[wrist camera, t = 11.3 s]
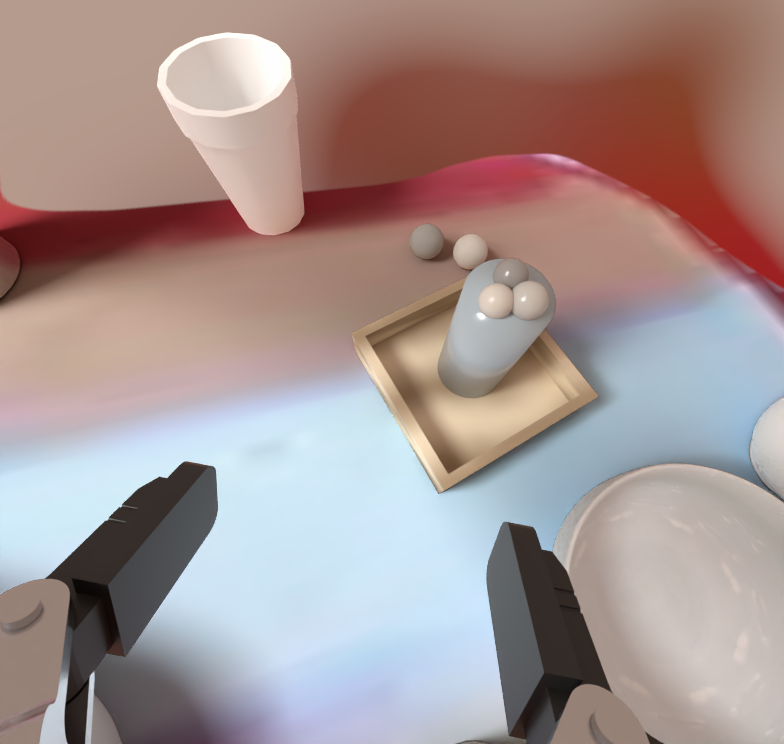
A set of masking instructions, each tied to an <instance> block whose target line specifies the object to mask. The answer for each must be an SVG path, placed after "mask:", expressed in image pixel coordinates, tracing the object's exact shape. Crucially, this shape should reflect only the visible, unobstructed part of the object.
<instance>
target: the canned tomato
mask: <svg viewBox="0 0 784 744" xmlns="http://www.w3.org/2000/svg"><path fill="white" fill-rule="evenodd" d="M460 744H488V743H483V742H478V741H474V742H463V743H460Z"/></svg>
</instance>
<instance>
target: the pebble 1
mask: <svg viewBox="0 0 784 744" xmlns="http://www.w3.org/2000/svg"><path fill="white" fill-rule="evenodd" d="M443 243H444V239H443V234H442V232H441V231H440V229H439V228H438V227H436V226H435V225H432V224H422V225H420V226H418V227H417V228H416V229H415V230H414V231H413V233H412V235H411V238H410V246H411V249H412V251H413V253H414V254H415V255H416V256H418V257H419V258H422V259H431V258H433V257H435V256H437V255H438V254H439V253H440V251H441V250H442V247H443Z"/></svg>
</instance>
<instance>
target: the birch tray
mask: <svg viewBox="0 0 784 744" xmlns="http://www.w3.org/2000/svg"><path fill="white" fill-rule="evenodd" d="M466 279H467V277H466V278H464V279H461V280H459V281H457V282H455V283H453V284H451V285H449V286H447V287H445V288H443V289H441V290H439V291H437V292H435V293H433V294H430V295H428V296H426V297H424V298H422V299H420V300H418V301H416V302H414V303H412V304H410V305H408V306H406V307H404V308H402V309H399V310H397V311H395V312H393V313H391V314H389V315H387V316H385V317H383V318H381V319H379V320H377V321H375V322H373V323H371V324H368V325H366V326H364V327H362V328H360V329H358V330H356V331H354V332H352V338H353V344H354V350H355V351H356V353H357V355H358V356H359V358H360V360H361V362H362V363H363V365H364V367H365V368H366V370H367V372H368V374H369V375H370V377H371V379H372V380H373V382H374V384H375V386H376V387H377V389H378V391H379V392H380V394H381V396H382V398H383V399H384V401H385V403H386V404H387V406H388V408H389V410H390V411H391V413H392V415H393V416H394V418H395V420H396V422H397V423H398V425H399V427H400V428H401V430H402V432H403V434H404V435H405V437H406V439H407V440H408V442H409V444H410V446H411V447H412V449H413V451H414V453H415V454H416V456H417V458H418V459H419V461H420V463H421V465H422V466H423V468H424V470H425V471H426V473H427V475H428V477H429V478H430V480H431V482H432V483H433V485H434V487H435V489H436V490H437V492H438V494H439V493H441V492H443V491H445V490H446V489H448V488H450V487H451V486H453V485H455V484H456V483H458V482H459V481H461V480H463V479H464V478H466V477H468V476H469V475H471V474H473V473H474V472H476V471H477V470H479V469H481V468H482V467H484V466H486V465H487V464H489V463H491V462H492V461H494V460H495V459H497V458H499V457H500V456H502V455H504V454H505V453H507V452H509V451H510V450H512V449H513V448H515V447H517V446H518V445H520V444H522V443H523V442H525V441H527V440H528V439H530V438H531V437H533V436H535V435H536V434H538V433H540V432H541V431H543V430H545V429H546V428H548V427H549V426H551V425H553V424H554V423H556V422H558V421H559V420H561V419H563V418H564V417H566V416H567V415H569V414H571V413H572V412H574V411H576V410H577V409H579V408H581V407H582V406H584V405H585V404H587V403H589V402H590V401H592V400H594V399H595V398H597V397H599V396H598V395H597V394H596V393H595V391H594V390H593V389H592V388H591V386H590V385H589V384H588V383H587V381H586V380H585V379H584V377H583V376H582V375H581V374H580V372H579V371H578V370H577V369H576V367H575V366H574V365H573V364H572V362H571V361H570V360H569V359H568V357H567V356H566V355H565V354H564V352H563V351H562V350H561V349H560V347H559V346H558V345H557V344H556V342H555V341H554V340H553V339H552V337H551V336H550V335H549V334H548V332H547V331H546V330H545V329H544V330H543V331H542V332H541V334H540V335H539V336H538V337H537V338H536V340H535V341H534V342H533V343H532V344H531V346H530V347H529V348H528V349H527V350H526V351H525V353H524V354H523V355H522V356H521V357H520V359H519V360H518V361H517V362H516V363H515V365H514V366H513V367H512V368H511V369H510V370H509V372H508V373H507V374H506V375H505V376H504V378H503V379H502V380H501V381H500V382H499V384H498V385H497V386H496V387H495V388H494V389H493V390H492V391H491V392H490V393H489V394H487V395H485V396H482V397H479V398H464V397H461V396H458V395H456V394H454V393H452V392H451V391H449V390H448V389H447V388H446V387H445V386H444V384H443V383H442V381H441V379H440V377H439V374H438V369H437V364H438V359H439V356H440V353H441V350H442V347H443V344H444V341H445V338H446V335H447V333H448V330H449V327H450V324H451V321H452V318H453V315H454V312H455V309H456V306H457V304H458V301H459V298H460V295H461V292H462V289H463V286H464V283H465V281H466Z"/></svg>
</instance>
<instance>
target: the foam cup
mask: <svg viewBox="0 0 784 744" xmlns="http://www.w3.org/2000/svg"><path fill="white" fill-rule="evenodd" d="M157 87H158V89H159V91H160V93H161V95H162V97H163V99H164V101H165V103H166V105H167V107H168V108H169V110H170V112H171V114H172V116H173V118H174V120H175V121H176V123H177V124H178V126H179V127H180V129H181V130H182V132H183V133H184V135H185V136H186V137H188V138H190V140H191V141H192V143H193V144H194V146H195V147H196V148H197V150H198V152H199V153H200V155H201V156H202V158H203V159H204V161H205V162H206V164H207V165H208V167H209V168H210V170H211V171H212V173H213V174H214V176H215V177H216V179H217V180H218V182H219V183H220V185H221V186H222V188H223V190H224V191H225V193H226V194H227V195H228V197H229V199H230V200H231V202H232V203H233V205H234V206H235V208H236V209H237V211H238V212H239V214H240V215H241V217H242V218H243V220H244V221H245V223H246V224H247V225H248V227H249V228H250V229H251V230H253V231H255V232H257V233H259V234H263V235H278V234H282V233H286V232H289V231H290V230H291V229H293V228H294V227H296V226H297V225H298V224H299V223H300V221H301V219H302V217H303V215H304V201H303V189H302V178H301V165H300V155H299V154H300V153H299V142H298V131H297V120H296V119H297V118H296V113H297V112H298V103H297V92H296V86H295V81H294V76H293V71H292V67H291V62H290V58H289V57H288V56H287V55H286V54H285V53H284V52H283V51H282V50H281V48H280V47H279V46H278V45H277V44H275V43H273V42H271V41H268V40H266V39H263V38H261V37H258V36H256V35H251V34H237V33H222V34H216V35H211V36H206V37H201V38H197V39H195V40H193V41H191V42H189V43H187V44H185V45H183V46H181V47H179V48H177V49H175V50H174V51H173V52H172V53H171V54H170V56H169V57H168V58H167V59H166V60H165V61H164V63H163V64H162V65H161V66H160V67H159V74H158V82H157Z"/></svg>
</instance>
